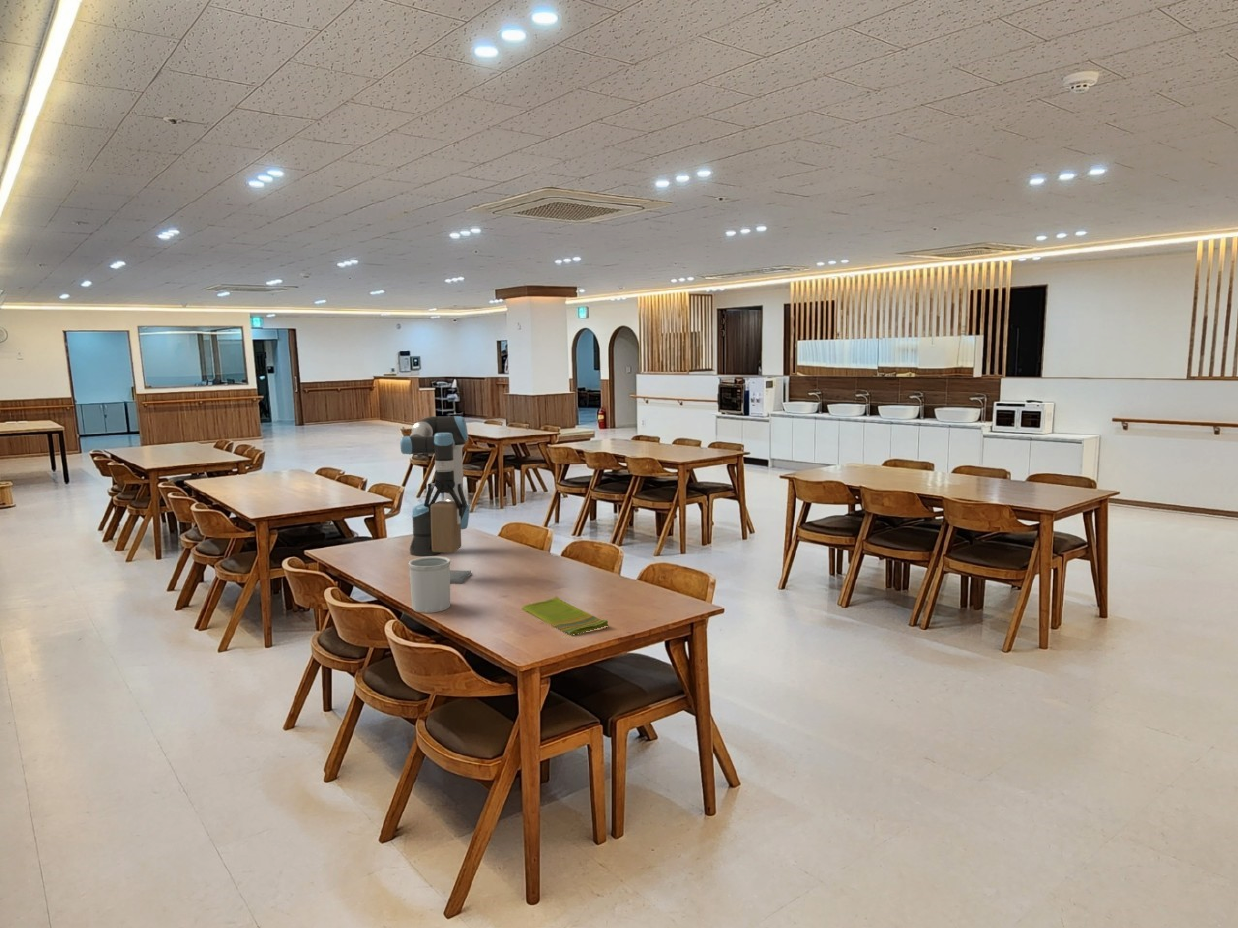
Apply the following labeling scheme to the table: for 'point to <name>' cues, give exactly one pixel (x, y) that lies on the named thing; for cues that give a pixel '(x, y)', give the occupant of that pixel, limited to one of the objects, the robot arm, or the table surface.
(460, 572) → the plate
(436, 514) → the wooden block
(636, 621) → the table surface
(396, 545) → the table surface
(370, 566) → the table surface
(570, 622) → the dish towel
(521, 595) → the table surface
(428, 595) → the utensil holder
